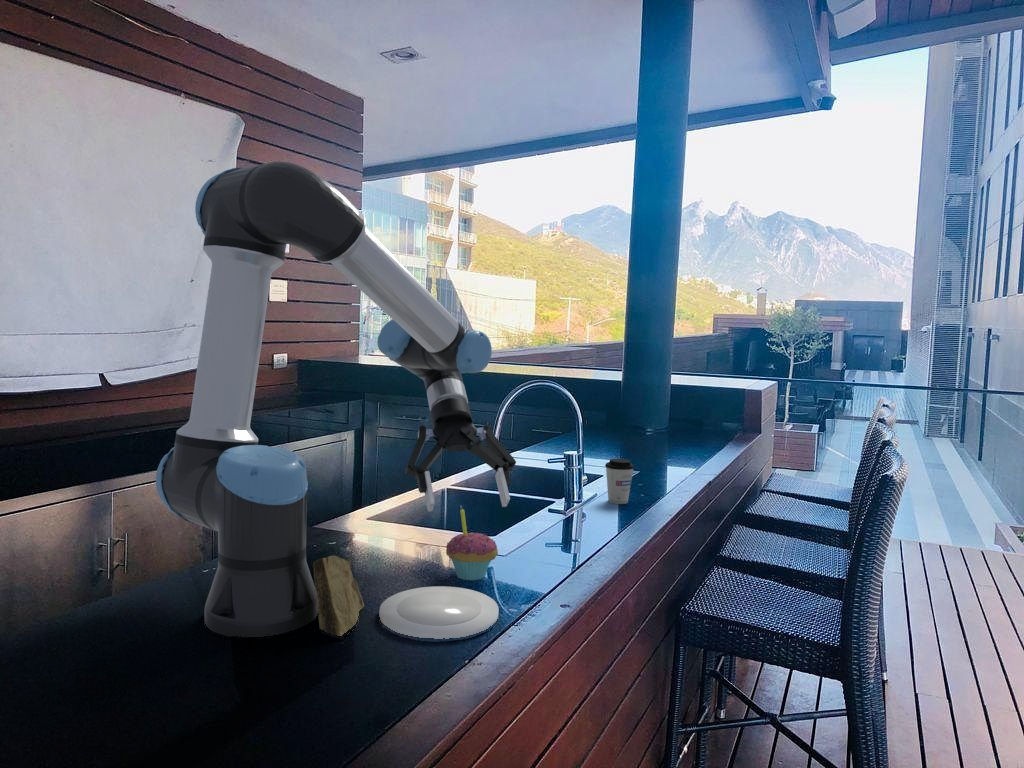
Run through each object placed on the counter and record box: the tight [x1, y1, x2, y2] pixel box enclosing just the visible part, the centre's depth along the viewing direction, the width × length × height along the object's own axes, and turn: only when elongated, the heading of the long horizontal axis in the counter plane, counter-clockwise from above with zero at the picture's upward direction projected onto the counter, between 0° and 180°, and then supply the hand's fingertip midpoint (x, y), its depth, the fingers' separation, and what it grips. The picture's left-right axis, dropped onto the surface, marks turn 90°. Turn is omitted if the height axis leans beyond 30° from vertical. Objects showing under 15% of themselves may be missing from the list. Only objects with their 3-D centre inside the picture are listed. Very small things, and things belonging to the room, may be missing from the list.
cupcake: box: [445, 505, 499, 581], centre depth 122 cm, size 9×8×12 cm
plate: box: [378, 585, 500, 639], centre depth 105 cm, size 17×17×1 cm
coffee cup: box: [604, 458, 635, 505], centre depth 175 cm, size 7×7×10 cm
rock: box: [312, 555, 365, 636], centre depth 102 cm, size 11×9×10 cm
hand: (469, 505), depth 128 cm, fingers open, 13 cm apart
